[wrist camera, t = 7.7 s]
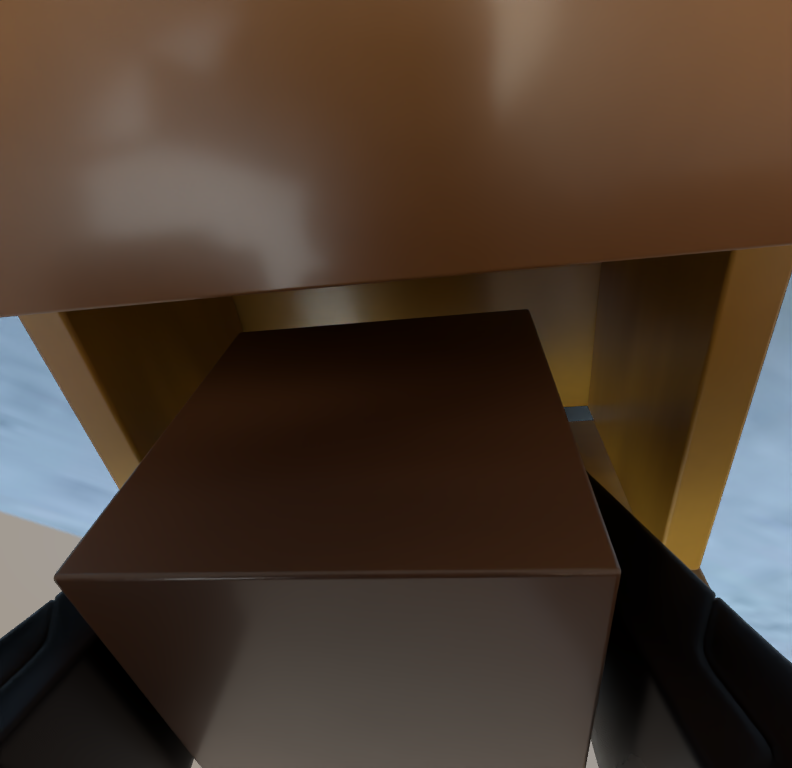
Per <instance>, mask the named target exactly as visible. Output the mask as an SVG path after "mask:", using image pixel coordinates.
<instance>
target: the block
mask: <svg viewBox="0 0 792 768" xmlns="http://www.w3.org/2000/svg"><path fill="white" fill-rule="evenodd" d="M620 576H621V569H620V566H619V563H618V560H617V557H616V554H615V552H614V549H613V546H612V543H611V540H610V537H609V535H608V532H607V529H606V526H605V523H604V520H603V518H602V515H601V512H600V509H599V506H598V503H597V501H596V498H595V495H594V492H593V489H592V486H591V483H590V481H589V478H588V475H587V472H586V469H585V466H584V464H583V461H582V458H581V455H580V452H579V449H578V447H577V444H576V441H575V438H574V435H573V432H572V430H571V427H570V424H569V421H568V418H567V415H566V413H565V410H564V407H563V404H562V401H561V398H560V396H559V393H558V390H557V387H556V384H555V381H554V378H553V376H552V373H551V370H550V367H549V364H548V361H547V359H546V356H545V353H544V350H543V347H542V344H541V342H540V339H539V336H538V333H537V330H536V327H535V325H534V322H533V319H532V316H531V313H530V311H529V310H528V309H520V310H508V311H495V312H483V313H471V314H459V315H447V316H435V317H422V318H410V319H398V320H386V321H374V322H361V323H349V324H337V325H325V326H313V327H300V328H288V329H276V330H264V331H252V332H241V333H239V334H238V335H237V337H236V338H235V339H234V341H233V342H232V343H231V345H230V346H229V347H228V348H227V350H226V351H225V352H224V354H223V355H222V356H221V358H220V359H219V360H218V362H217V363H216V364H215V365H214V367H213V368H212V369H211V371H210V372H209V373H208V375H207V376H206V377H205V379H204V380H203V381H202V382H201V384H200V385H199V386H198V388H197V389H196V390H195V392H194V393H193V394H192V396H191V397H190V398H189V399H188V401H187V402H186V403H185V405H184V406H183V407H182V409H181V410H180V411H179V413H178V414H177V415H176V416H175V418H174V419H173V420H172V422H171V423H170V424H169V426H168V427H167V428H166V430H165V431H164V432H163V433H162V435H161V436H160V437H159V439H158V440H157V441H156V443H155V444H154V445H153V447H152V448H151V449H150V451H149V452H148V453H147V454H146V456H145V457H144V458H143V460H142V461H141V462H140V464H139V465H138V466H137V468H136V469H135V470H134V471H133V473H132V474H131V475H130V477H129V478H128V479H127V481H126V482H125V483H124V485H123V486H122V487H121V488H120V490H119V491H118V492H117V494H116V495H115V496H114V498H113V499H112V500H111V502H110V503H109V504H108V505H107V507H106V508H105V509H104V511H103V512H102V513H101V515H100V516H99V517H98V519H97V520H96V521H95V522H94V524H93V525H92V526H91V528H90V529H89V530H88V532H87V533H86V534H85V536H84V537H83V538H82V540H81V541H80V542H79V544H78V545H77V546H76V547H75V549H74V550H73V551H72V553H71V554H70V555H69V557H68V558H67V559H66V561H65V562H64V563H63V565H62V566H61V567H60V569H59V570H58V571H57V572H56V574H55V576H54V581H55V583H56V584H57V585H58V586H59V588H60V589H61V590H62V591H63V593H64V594H65V595H66V597H67V598H68V599H69V600H70V602H71V603H72V604H73V605H74V607H75V608H76V609H77V610H78V612H79V613H80V614H81V616H82V617H83V618H84V619H85V621H86V622H87V623H88V624H89V626H90V627H91V628H92V629H93V631H94V632H95V633H96V635H97V636H98V637H99V638H100V640H101V641H102V642H103V643H104V645H105V646H106V647H107V648H108V650H109V651H110V652H111V653H112V655H113V656H114V657H115V659H116V660H117V661H118V662H119V664H120V665H121V666H122V667H123V669H124V670H125V671H126V672H127V674H128V675H129V676H130V678H131V679H132V680H133V681H134V683H135V684H136V685H137V686H138V688H139V689H140V690H141V691H142V693H143V694H144V695H145V697H146V698H147V699H148V700H149V702H150V703H151V704H152V705H153V707H154V708H155V709H156V710H157V712H158V713H159V714H160V715H161V717H162V718H163V719H164V721H165V722H166V723H167V724H168V726H169V727H170V728H171V729H172V731H173V732H174V733H175V734H176V736H177V737H178V738H179V740H180V741H181V742H182V743H183V745H184V746H185V747H186V748H187V750H188V751H189V752H190V753H191V755H192V756H193V757H194V759H195V760H196V761H197V762H198V764H199V765H200V766H201V767H202V768H586V762H587V757H588V751H589V746H590V740H591V735H592V729H593V724H594V718H595V713H596V708H597V702H598V697H599V691H600V686H601V680H602V675H603V669H604V664H605V658H606V653H607V647H608V642H609V636H610V631H611V625H612V620H613V614H614V609H615V603H616V598H617V592H618V587H619V581H620Z"/></svg>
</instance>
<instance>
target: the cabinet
mask: <svg viewBox="0 0 792 768" xmlns="http://www.w3.org/2000/svg"><path fill="white" fill-rule="evenodd" d="M785 245H792V0H0V317H10V316H21V315H32V314H43V313H54V312H65V311H76V310H87V309H98V308H108V307H119V306H130V305H141V304H152V303H163V302H174V301H185V300H196V299H207V298H218V297H229V296H239V295H250V294H261V293H272V292H283V291H294V290H305V289H316V288H327V287H338V286H349V285H360V284H370V283H381V282H392V281H403V280H414V279H425V278H436V277H447V276H458V275H469V274H480V273H491V272H501V271H512V270H523V269H534V268H545V267H556V266H567V265H578V264H589V263H600V262H611V261H622V260H632V259H643V258H654V257H665V256H676V255H687V254H698V253H709V252H720V251H731V250H742V249H753V248H763V247H774V246H785Z"/></svg>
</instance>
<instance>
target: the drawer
mask: <svg viewBox="0 0 792 768" xmlns="http://www.w3.org/2000/svg"><path fill="white" fill-rule="evenodd" d="M791 273H792V245H785V246H774V247H763V248H753V249H742V250H731V251H720V252H709V253H698V254H687V255H676V256H665V257H654V258H643V259H632V260H622V261H611V262H600V263H589V264H578V265H567V266H556V267H545V268H534V269H523V270H512V271H501V272H491V273H480V274H469V275H458V276H447V277H436V278H425V279H414V280H403V281H392V282H381V283H370V284H360V285H349V286H338V287H327V288H316V289H305V290H294V291H283V292H272V293H261V294H250V295H239V296H229V297H218V298H207V299H196V300H185V301H174V302H163V303H152V304H141V305H130V306H119V307H108V308H98V309H87V310H76V311H65V312H54V313H43V314H32V315H21V316H18V317H19V319H20V320H21V322H22V324H23V326H24V327H25V329H26V331H27V332H28V334H29V336H30V338H31V339H32V341H33V343H34V344H35V346H36V348H37V350H38V351H39V353H40V355H41V356H42V358H43V360H44V361H45V363H46V365H47V367H48V368H49V370H50V372H51V373H52V375H53V377H54V379H55V380H56V382H57V384H58V385H59V387H60V389H61V391H62V392H63V394H64V396H65V397H66V399H67V401H68V403H69V404H70V406H71V408H72V409H73V411H74V413H75V415H76V416H77V418H78V420H79V421H80V423H81V425H82V427H83V428H84V430H85V432H86V433H87V435H88V437H89V438H90V440H91V442H92V444H93V445H94V447H95V449H96V450H97V452H98V454H99V456H100V457H101V459H102V461H103V462H104V464H105V466H106V468H107V469H108V471H109V473H110V474H111V476H112V478H113V480H114V481H115V483H116V485H117V486H118V488H119V490H120V488H121V487H122V486H123V485H124V483H125V482H126V481H127V479H128V478H129V477H130V475H131V474H132V473H133V471H134V470H135V469H136V468H137V466H138V465H139V464H140V462H141V461H142V460H143V458H144V457H145V456H146V454H147V453H148V452H149V451H150V449H151V448H152V447H153V445H154V444H155V443H156V441H157V440H158V439H159V437H160V436H161V435H162V433H163V432H164V431H165V430H166V428H167V427H168V426H169V424H170V423H171V422H172V420H173V419H174V418H175V416H176V415H177V414H178V413H179V411H180V410H181V409H182V407H183V406H184V405H185V403H186V402H187V401H188V399H189V398H190V397H191V396H192V394H193V393H194V392H195V390H196V389H197V388H198V386H199V385H200V384H201V382H202V381H203V380H204V379H205V377H206V376H207V375H208V373H209V372H210V371H211V369H212V368H213V367H214V365H215V364H216V363H217V362H218V360H219V359H220V358H221V356H222V355H223V354H224V352H225V351H226V350H227V348H228V347H229V346H230V345H231V343H232V342H233V341H234V339H235V338H236V337H237V335H238V334H239V333H241V332H252V331H264V330H276V329H288V328H300V327H313V326H325V325H337V324H349V323H361V322H374V321H386V320H398V319H410V318H422V317H435V316H447V315H459V314H471V313H483V312H495V311H508V310H520V309H528V310H529V311H530V313H531V316H532V319H533V322H534V325H535V327H536V330H537V333H538V336H539V339H540V342H541V344H542V347H543V350H544V353H545V356H546V359H547V361H548V364H549V367H550V370H551V373H552V376H553V378H554V381H555V384H556V387H557V390H558V393H559V396H560V398H561V401H562V404H563V407H574V406H588V408H589V410H590V413H591V415H592V417H593V420H588V421H569V424H570V427H571V430H572V432H573V435H574V438H575V441H576V444H577V447H578V449H579V452H580V455H581V458H582V461H583V464H584V466H585V469H586V471H587V472H588V473H589V474H590V475H591V476H592V477H593V478H595V479H596V480H597V481H598V482H599V483H600V484H601V485H602V486H603V487H604V488H605V489H606V490H607V491H608V492H609V493H610V494H611V495H612V496H613V497H614V498H616V499H617V500H618V501H619V502H620V503H621V504H622V505H623V506H624V507H625V508H626V509H627V510H628V511H629V512H630V513H631V514H632V515H633V516H634V517H636V518H637V519H638V520H639V521H640V522H641V523H642V524H643V525H644V526H645V527H646V528H647V529H648V530H649V531H650V532H651V533H652V534H653V535H654V536H655V537H657V538H658V539H659V540H660V541H661V542H662V543H663V544H664V545H665V546H666V547H667V548H668V549H669V550H670V551H671V552H672V553H673V554H674V555H675V556H677V557H678V558H679V559H680V560H681V561H682V562H683V563H684V564H685V565H686V566H687V567H688V568H689V569H690V570H691V571H692V572H693V573H694V574H695V575H697V576H698V577H699V578H700V579H701V580H702V581H703V582H704V583H705V584H706V585H707V586H708V587H709V585H708V583H707V581H706V579H705V577H704V575H703V573H702V571H701V569H700V565H701V562H702V558H703V555H704V552H705V549H706V546H707V542H708V539H709V536H710V533H711V529H712V526H713V523H714V520H715V517H716V513H717V510H718V507H719V504H720V501H721V497H722V494H723V491H724V488H725V485H726V481H727V478H728V475H729V472H730V469H731V465H732V462H733V459H734V456H735V453H736V449H737V446H738V443H739V440H740V437H741V433H742V430H743V427H744V424H745V421H746V417H747V414H748V411H749V408H750V405H751V401H752V398H753V395H754V392H755V388H756V385H757V382H758V379H759V376H760V372H761V369H762V366H763V363H764V360H765V356H766V353H767V350H768V347H769V344H770V340H771V337H772V334H773V331H774V328H775V324H776V321H777V318H778V315H779V312H780V308H781V305H782V302H783V299H784V296H785V292H786V289H787V286H788V283H789V280H790V276H791ZM709 588H710V587H709Z"/></svg>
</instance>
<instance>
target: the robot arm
mask: <svg viewBox="0 0 792 768" xmlns="http://www.w3.org/2000/svg"><path fill="white" fill-rule="evenodd" d="M586 472H587V471H586ZM587 475H588V478H589V481H590V483H591V486H592V489H593V492H594V495H595V498H596V501H597V503H598V506H599V509H600V512H601V515H602V518H603V520H604V523H605V526H606V529H607V532H608V535H609V537H610V540H611V543H612V546H613V549H614V552H615V554H616V557H617V560H618V563H619V566H620V569H621V576H620V581H619V587H618V592H617V598H616V603H615V609H614V614H613V620H612V625H611V631H610V636H609V642H608V647H607V653H606V658H605V664H604V669H603V675H602V680H601V686H600V691H599V697H598V702H597V708H596V713H595V718H594V724H593V729H592V735H591V741H592V744H593V748H594V752H595V755H596V759H597V763H598V766H599V768H792V663H791V662H790V661H789V660H787V659H786V658H785V657H784V656H783V655H782V654H780V653H779V652H778V651H777V650H776V649H775V648H774V647H773V646H772V645H771V644H769V643H768V642H767V641H766V640H765V639H764V638H763V637H762V636H761V635H760V634H758V633H757V632H756V631H755V630H754V629H753V628H752V627H751V626H750V625H749V624H747V623H746V622H745V621H744V620H743V619H742V618H741V617H740V616H739V615H738V614H737V613H736V612H735V611H734V610H733V609H732V608H730V607H729V606H728V605H727V604H726V603H725V602H724V601H723V600H722V599H721V598H715V596H716V595H715V593H714V592H713V591H712V590H711V589H710V588H709V587H708V586H707V585H706V584H705V583H704V582H703V581H702V580H701V579H700V578H699V577H698V576H697V575H695V574H694V573H693V572H692V571H691V570H690V569H689V568H688V567H687V566H686V565H685V564H684V563H683V562H682V561H681V560H680V559H679V558H678V557H677V556H675V555H674V554H673V553H672V552H671V551H670V550H669V549H668V548H667V547H666V546H665V545H664V544H663V543H662V542H661V541H660V540H659V539H658V538H657V537H655V536H654V535H653V534H652V533H651V532H650V531H649V530H648V529H647V528H646V527H645V526H644V525H643V524H642V523H641V522H640V521H639V520H638V519H637V518H636V517H634V516H633V515H632V514H631V513H630V512H629V511H628V510H627V509H626V508H625V507H624V506H623V505H622V504H621V503H620V502H619V501H618V500H617V499H616V498H614V497H613V496H612V495H611V494H610V493H609V492H608V491H607V490H606V489H605V488H604V487H603V486H602V485H601V484H600V483H599V482H598V481H597V480H596V479H595V478H593V477H592V476H591V475H590V474H589V473H588V472H587ZM193 759H194V757H193V756H192V755H191V753H190V752H189V751H188V750H187V748H186V747H185V746H184V745H183V743H182V742H181V741H180V740H179V738H178V737H177V736H176V734H175V733H174V732H173V731H172V729H171V728H170V727H169V726H168V724H167V723H166V722H165V721H164V719H163V718H162V717H161V715H160V714H159V713H158V712H157V710H156V709H155V708H154V707H153V705H152V704H151V703H150V702H149V700H148V699H147V698H146V697H145V695H144V694H143V693H142V691H141V690H140V689H139V688H138V686H137V685H136V684H135V683H134V681H133V680H132V679H131V678H130V676H129V675H128V674H127V672H126V671H125V670H124V669H123V667H122V666H121V665H120V664H119V662H118V661H117V660H116V659H115V657H114V656H113V655H112V653H111V652H110V651H109V650H108V648H107V647H106V646H105V645H104V643H103V642H102V641H101V640H100V638H99V637H98V636H97V635H96V633H95V632H94V631H93V629H92V628H91V627H90V626H89V624H88V623H87V622H86V621H85V619H84V618H83V617H82V616H81V614H80V613H79V612H78V610H77V609H76V608H75V607H74V605H73V604H72V603H71V602H70V600H69V599H68V598H67V597H66V595H65V594H64V593H63V591H62V592H61V593H59V594H58V595H57V596H56V597H55V600H50V601H49V602H48V603H46V604H45V605H44V606H43V607H41V608H40V609H39V610H37V611H36V612H35V613H33V614H32V615H31V616H30V617H28V618H27V619H26V620H24V621H23V622H22V623H21V624H19V625H18V626H16V627H15V628H14V629H12V630H11V631H10V632H8V633H7V634H6V635H5V636H3V637H2V638H1V639H0V768H191V766H192V763H193Z"/></svg>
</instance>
